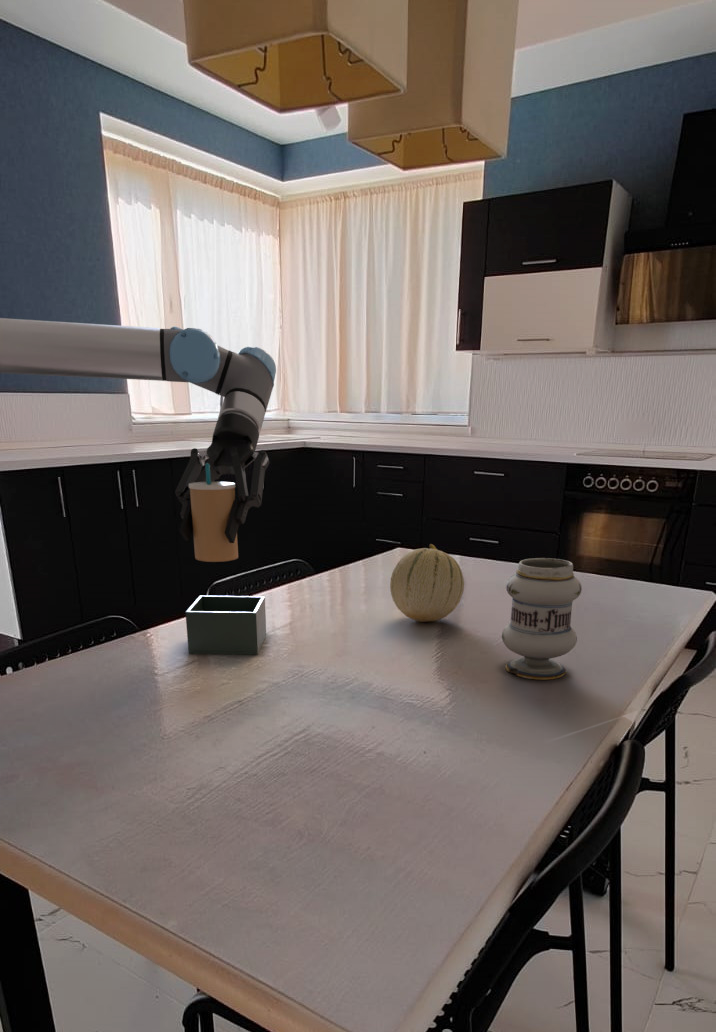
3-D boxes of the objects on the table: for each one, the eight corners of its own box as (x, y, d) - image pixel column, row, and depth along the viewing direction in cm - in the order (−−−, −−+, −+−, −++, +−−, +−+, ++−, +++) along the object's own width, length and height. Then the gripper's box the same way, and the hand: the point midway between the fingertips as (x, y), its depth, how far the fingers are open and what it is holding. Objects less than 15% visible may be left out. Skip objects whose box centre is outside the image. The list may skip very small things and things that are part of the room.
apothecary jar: (483, 667, 130) (492, 559, 123) (532, 655, 136) (543, 552, 129) (538, 687, 121) (550, 572, 114) (587, 673, 127) (602, 564, 120)
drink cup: (205, 552, 134) (198, 460, 128) (245, 555, 133) (241, 461, 127) (186, 560, 128) (178, 463, 122) (228, 563, 126) (223, 464, 120)
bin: (202, 634, 146) (199, 595, 143) (266, 635, 146) (264, 596, 143) (188, 653, 135) (185, 611, 132) (257, 654, 135) (256, 612, 132)
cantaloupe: (391, 630, 151) (393, 552, 145) (387, 611, 164) (389, 539, 158) (466, 630, 151) (472, 553, 145) (456, 611, 165) (460, 540, 159)
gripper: (298, 444, 135) (271, 553, 127) (192, 441, 139) (159, 547, 131) (288, 411, 128) (258, 525, 120) (177, 410, 132) (140, 519, 124)
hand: (206, 536), depth 126 cm, fingers closed on drink cup, 7 cm apart
